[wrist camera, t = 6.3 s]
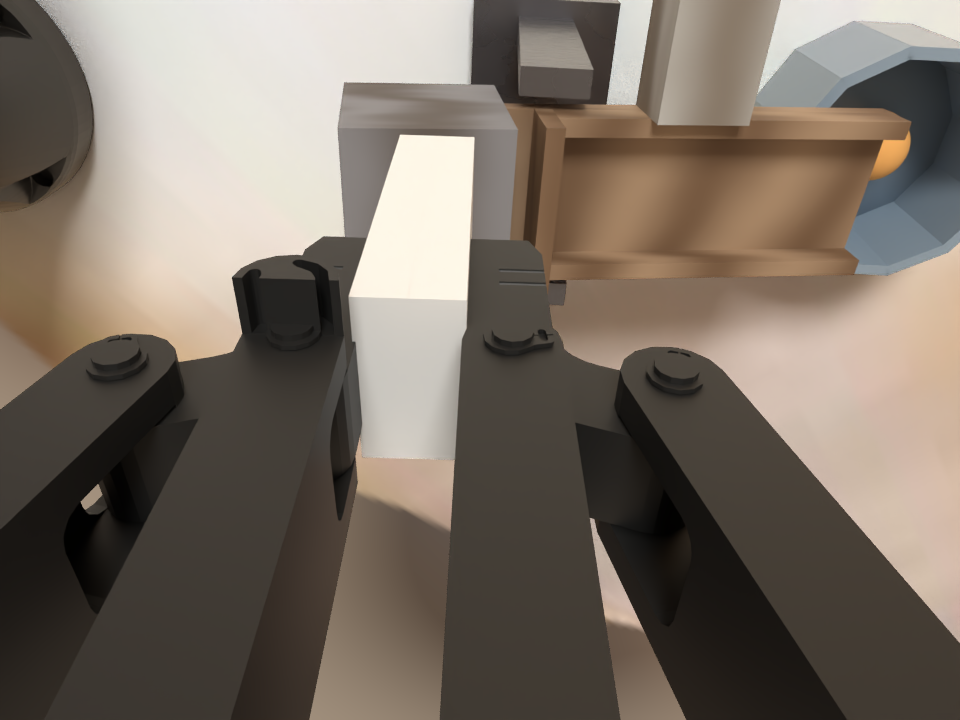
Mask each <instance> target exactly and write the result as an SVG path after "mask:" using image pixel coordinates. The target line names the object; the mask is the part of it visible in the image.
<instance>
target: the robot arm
mask: <svg viewBox="0 0 960 720" xmlns="http://www.w3.org/2000/svg"><path fill="white" fill-rule="evenodd" d="M92 120H93V118H92V107H91V100H90V95H89V91H88V87H87V84H86V80H85V78H84V75H83V72H82V70H81V67H80V65H79V63H78V60H77V58H76V56H75V54H74V52H73V51H72V49H71V47H70V45H69V44H68V42H67V40H66V39H65V37H64V36H63V34H62V33H61V31H60V30H59V28H58V27H57V26H56V24H55V23H54V22H53V20H52V19H51V18H50V17H49V15H48V14H47V13H46V12H45V11H44V10H43V9H42V7H41V6H40V5H39V4H38V3H37V2H36V1H35V0H0V213H1V212H9V211H14V210H19V209H22V208H25V207H28V206H31V205H33V204H35V203H38V202H39V201H41V200H43V199H45V198H46V197H48V196H49V195H51V194H52V193H54V192H55V191H56V190H58V189H59V188H61V187H62V186H64V185H65V184H66V183H67V182H68V181H70V180H71V178H72V177H73V176H74V175H75V174H76V173H77V171H78V170H79V169H80V167H81V165H82V164H83V162H84V160H85V158H86V155H87V153H88V150H89V146H90V142H91V136H92ZM473 174H474V137H456V136H425V135H400V137H399V140H398V143H397V146H396V149H395V153H394V156H393V159H392V162H391V165H390V168H389V171H388V174H387V178H386V181H385V184H384V187H383V190H382V193H381V196H380V200H379V203H378V206H377V209H376V212H375V215H374V218H373V221H372V225H371V228H370V231H369V234H368V237H367V238H356V237H322V238H321V239H319V240H318V241H317V242H315V243H314V244H312V245H311V246H309V247H308V248H307V249H305V251H304V253H303V255H302V256H301V255H287V256H275V257H271V258H266V259H262V260H258V261H255V262H253V263H251V264H249V265H247V266H245V267H243V268H241V269H240V270H239V271H238V272H237V273H236V274H235V275H234V276H233V277H232V280H233V286H234V291H235V296H236V302H237V307H238V312H239V318H240V323H241V328H242V335H241V337H240V339H239V341H238V343H237V345H236V347H235V349H234V351H233V352H231V353H228V354H223V355H219V356H214V357H209V358H203V359H196V360H190V361H184V362H178V358H177V354H176V350H175V348H174V347H173V346H172V345H171V344H170V343H169V342H168V341H167V340H165V339H162V338H159V337H156V336H153V335H142V334H122V335H121V336H119V335H116V336H111V337H107V338H105V339H103V340H100V341H97V342H94V343H91V344H89V345H87V346H85V347H83V348H82V349H80V350H78V351H77V352H75V353H73V354H72V355H70V356H69V357H68V358H66V359H65V360H64V361H63V362H61V363H60V364H59V365H57V366H56V367H55V368H53V369H52V370H51V371H50V372H48V373H47V374H46V375H44V376H43V377H42V378H41V379H39V380H38V381H37V382H35V383H34V384H33V385H32V386H30V387H29V388H28V389H26V390H25V391H24V392H22V393H21V394H20V395H19V396H17V397H16V398H15V399H13V400H12V401H11V402H10V403H8V404H7V405H6V406H5V407H3V408H2V409H0V720H309V718H310V713H311V708H312V703H313V698H314V693H315V688H316V684H317V679H318V674H319V669H320V664H321V659H322V654H323V649H324V645H325V640H326V635H327V630H328V625H329V620H330V615H331V610H332V605H333V601H334V596H335V590H336V586H337V581H338V576H339V571H340V566H341V562H342V557H343V551H344V547H345V542H346V537H347V532H348V527H349V522H350V517H351V513H352V507H353V503H354V498H355V493H356V488H357V483H358V481H357V469H356V458H355V455H356V451H357V446H358V442H359V437H360V438H361V450H362V457H368V458H404V459H439V460H455V465H454V483H453V500H452V517H451V534H450V553H449V569H448V586H447V603H446V620H445V638H444V639H445V640H444V655H443V672H442V689H441V706H440V707H441V708H440V720H620V714H619V707H618V701H617V694H616V688H615V681H614V675H613V668H612V661H611V655H610V648H609V642H608V636H607V629H606V622H605V616H604V609H603V603H602V596H601V589H600V583H599V576H598V570H597V563H596V557H595V550H594V544H593V537H592V530H591V524H590V518H593V519H595V524H596V528H597V533H598V535H599V537H600V539H601V541H602V543H603V545H604V547H605V549H606V552H607V554H608V556H609V558H610V560H611V562H612V564H613V566H614V568H615V570H616V573H617V575H618V577H619V579H620V581H621V583H622V585H623V587H624V589H625V592H626V594H627V596H628V598H629V600H630V602H631V604H632V606H633V608H634V610H635V613H636V615H637V617H638V619H639V621H640V623H641V625H642V627H643V629H644V632H645V634H646V636H647V638H648V640H649V642H650V644H651V646H652V648H653V650H654V653H655V654H656V657H657V658H658V661H659V663H660V665H661V667H662V669H663V671H664V674H665V676H666V678H667V680H668V682H669V684H670V686H671V688H672V690H673V692H674V694H675V697H676V699H677V701H678V703H679V705H680V707H681V709H682V712H683V714H684V716H685V718H686V720H960V643H959V642H958V641H957V640H956V638H955V637H954V636H953V635H952V634H951V633H950V631H949V630H948V629H947V628H946V627H945V626H944V625H943V623H942V622H941V621H940V620H939V619H938V618H937V616H936V615H935V614H934V613H933V612H932V611H931V610H930V608H929V607H928V606H927V605H926V604H925V603H924V601H923V600H922V599H921V598H920V597H919V596H918V595H917V593H916V592H915V591H914V590H913V589H912V588H911V586H910V585H909V584H908V583H907V582H906V581H905V580H904V578H903V577H902V576H901V575H900V574H899V573H898V572H897V570H896V569H895V568H894V567H893V566H892V565H891V563H890V562H889V561H888V560H887V559H886V558H885V557H884V555H883V554H882V553H881V552H880V551H879V550H878V548H877V547H876V546H875V545H874V544H873V543H872V542H871V540H870V539H869V538H868V537H867V536H866V535H865V533H864V532H863V531H862V530H861V529H860V528H859V527H858V525H857V524H856V523H855V522H854V521H853V520H852V519H851V517H850V516H849V515H848V514H847V513H846V512H845V510H844V509H843V508H842V507H841V506H840V505H839V504H838V502H837V501H836V500H835V499H834V498H833V497H832V495H831V494H830V493H829V492H828V491H827V490H826V489H825V487H824V486H823V485H822V484H821V483H820V482H819V480H818V479H817V478H816V477H815V476H814V475H813V474H812V472H811V471H810V470H809V469H808V468H807V467H806V465H805V464H804V463H803V462H802V461H801V460H800V459H799V457H798V456H797V455H796V454H795V453H794V452H793V451H792V449H791V448H790V447H789V446H788V445H787V444H786V442H785V441H784V440H783V439H782V438H781V437H780V436H779V434H778V433H777V432H776V431H775V430H774V429H773V427H772V426H771V425H770V424H769V423H768V422H767V421H766V419H765V418H764V417H763V416H762V415H761V414H760V412H759V411H758V410H757V409H756V408H755V407H754V406H753V404H752V403H751V402H750V401H749V400H748V399H747V398H746V396H745V395H744V394H743V393H742V392H741V391H740V389H739V388H738V387H737V386H736V385H735V384H734V383H733V381H732V380H731V379H730V378H729V377H728V376H727V374H726V373H725V372H724V371H723V370H722V369H721V368H719V367H718V366H717V365H716V364H714V363H713V362H712V361H711V360H709V359H707V358H705V357H703V356H700V355H698V354H696V353H694V352H691V351H688V350H684V349H679V348H673V347H650V348H646V349H642V350H638V351H635V352H634V353H632V354H631V355H630V356H628V357H627V358H625V359H624V361H623V364H622V367H621V369H620V370H615V369H611V368H607V367H602V366H598V365H595V364H592V363H588V362H585V361H583V360H581V359H579V358H577V357H575V356H572V355H571V354H570V353H568V352H567V351H566V350H564V347H563V342H562V340H561V338H560V336H559V334H558V332H557V331H556V330H554V329H553V328H552V322H551V315H550V308H549V301H548V294H547V287H546V279H545V273H544V265H543V258H542V254H541V253H540V252H539V251H538V250H537V249H536V248H535V247H534V246H533V245H532V244H531V243H530V242H529V241H522V240H490V239H472V213H473ZM97 484H99V487H100V489H101V492H102V494H103V495H102V496H101V497H100V498H99V499H98V500H97V501H96V503H95V504H93V505H92V506H90V507H89V508H88V509H86V510H85V509H84V508H83V507H82V504H81V501H82V500H83V499H84V497H85V496H86V495H87V494H88V493H89V492H90V491H91V490H92V489H93V488H94V487H95V486H96V485H97Z"/></svg>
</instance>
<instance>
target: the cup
mask: <svg viewBox="0 0 960 720" xmlns="http://www.w3.org/2000/svg"><path fill="white" fill-rule="evenodd" d="M754 107H819V108H884V109H886V110H888V111H891V112H893V113H895V114H897V115H898V116H900V117H902V118H904V119H906V120H908V121H911V122H912V123H911V126H910V128H909V131H910V137H911V143H910V148H909V152H908V154H907V156H906V158H905V160H904V161H903V163H902V164H901V165H900V166H899V167H898V168H897V169H896V170H895V171H893V172H892V173H891V174H889V175H887V176H885V177H883V178H880V179H876V180H870V181H869V182H868V184H867V187H866V190H865V193H864V195H863V198H862V201H861V204H860V206H859V209H858V212H857V215H856V218H855V220H854V223H853V226H852V229H851V231H850V234H849V237H848V240H847V242H846V245H845V249H846V250H847V251H848V252H850V253H851V254H852V255H853V256H855V257H856V258H857V259H858V260H859V263H858V266H857V268H856V271H855V273H854V274H869V275H887V276H888V275H890V274H893V273H895V272H898V271H901V270H903V269H906V268H909V267H911V266H914V265H916V264H919V263H922V262H924V261H927V260H930V259H932V258H935V257H938V256H940V255H943V254H946V253H948V252H949V251H950V250H952V249H953V248H954V247H955V246H956V245H957V244H958V243H959V242H960V42H958V41H955V40H953V39H950V38H948V37H945V36H942V35H940V34H937V33H935V32H932V31H929V30H927V29H924V28H921V27H919V26H916V25H914V24H900V23H882V22H863V21H853V22H851V23H849V24H847V25H845V26H843V27H841V28H839V29H837V30H835V31H832V32H830V33H828V34H826V35H824V36H822V37H820V38H818V39H816V40H814V41H812V42H810V43H808V44H805V45H803V46H801V47H799V48H797V49H795V50H794V52H793V53H792V54H791V55H790V56H789V58H788V59H787V60H786V61H785V62H784V64H783V65H782V66H781V67H780V68H779V70H778V71H777V72H776V73H775V74H774V75H773V77H772V78H771V79H770V80H769V81H768V83H767V84H766V85H765V86H764V87H763V89H762V90H761V91H760V92H759V93H758V95H757V96H756V100H755V104H754Z"/></svg>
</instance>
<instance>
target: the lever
mask: <svg viewBox="0 0 960 720" xmlns="http://www.w3.org/2000/svg"><path fill="white" fill-rule="evenodd" d="M780 1H781V0H653V4H652V10H651V17H650V23H649V29H648V35H647V41H646V47H645V54H644V60H643V66H642V72H641V78H640V84H639V90H638V97H637V103H636V105H591V104H515V103H503V101H502V99H501V97H500V95H499V93H498V91H497V90H496V88H495V86H494V85H465V84H404V83H344V88H343V95H342V102H341V109H340V116H339V122H338V140H339V155H340V170H341V185H342V200H343V214H344V229H345V237H356V238H367V237H368V234H369V231H370V228H371V225H372V221H373V218H374V215H375V212H376V209H377V206H378V203H379V200H380V196H381V193H382V190H383V187H384V184H385V181H386V178H387V174H388V171H389V168H390V165H391V162H392V159H393V156H394V153H395V149H396V146H397V143H398V140H399V137H400V135H425V136H456V137H474V174H473V213H472V239H490V240H522V241H529V242H530V243H531V244H532V245H533V246H534V247H535V248H536V249H537V250H538V251H539V252H540V253H541V254H542V258H543V265H544V273H545V279H546V287H547V294H548V289H549V280H589V279H646V278H703V277H760V276H817V275H854V273H855V271H856V268H857V266H858V263H859V260H858V259H857V258H856V257H855V256H853V255H852V254H851V253H850V252H848V251H847V250H846V249H845V245H846V242H847V240H848V237H849V234H850V231H851V229H852V226H853V223H854V220H855V218H856V215H857V212H858V209H859V206H860V204H861V201H862V198H863V195H864V193H865V190H866V187H867V184H868V182H869V179H870V176H871V173H872V171H873V168H874V165H875V162H876V160H877V157H878V154H879V151H880V148H881V146H882V143H883V140H905V139H906V136H907V134H908V131H909V128H910V126H911V123H912V122H911V121H908V120H906V119H904V118H902V117H900V116H898V115H896V114H894V113H892V112H890V111H888V110H886V109H884V108H819V107H754V104H755V100H756V96H757V92H758V88H759V84H760V80H761V76H762V72H763V68H764V64H765V61H766V57H767V53H768V49H769V45H770V41H771V37H772V33H773V29H774V25H775V21H776V17H777V13H778V9H779V5H780Z"/></svg>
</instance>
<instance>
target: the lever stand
mask: <svg viewBox="0 0 960 720" xmlns="http://www.w3.org/2000/svg"><path fill="white" fill-rule="evenodd" d="M620 4H621V3H620V2H619V1H618V0H474V21H473V49H472V77H471V85H494V86H495V88H496V90H497V91H498V93H499V95H500V97H501V99H502V101H503V103H515V104H591V105H606V104H607V97H608V89H609V82H610V75H611V68H612V61H613V54H614V47H615V39H616V32H617V25H618V18H619V11H620ZM565 291H566V280H549V289H548V301H549V305H564V299H565Z"/></svg>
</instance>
